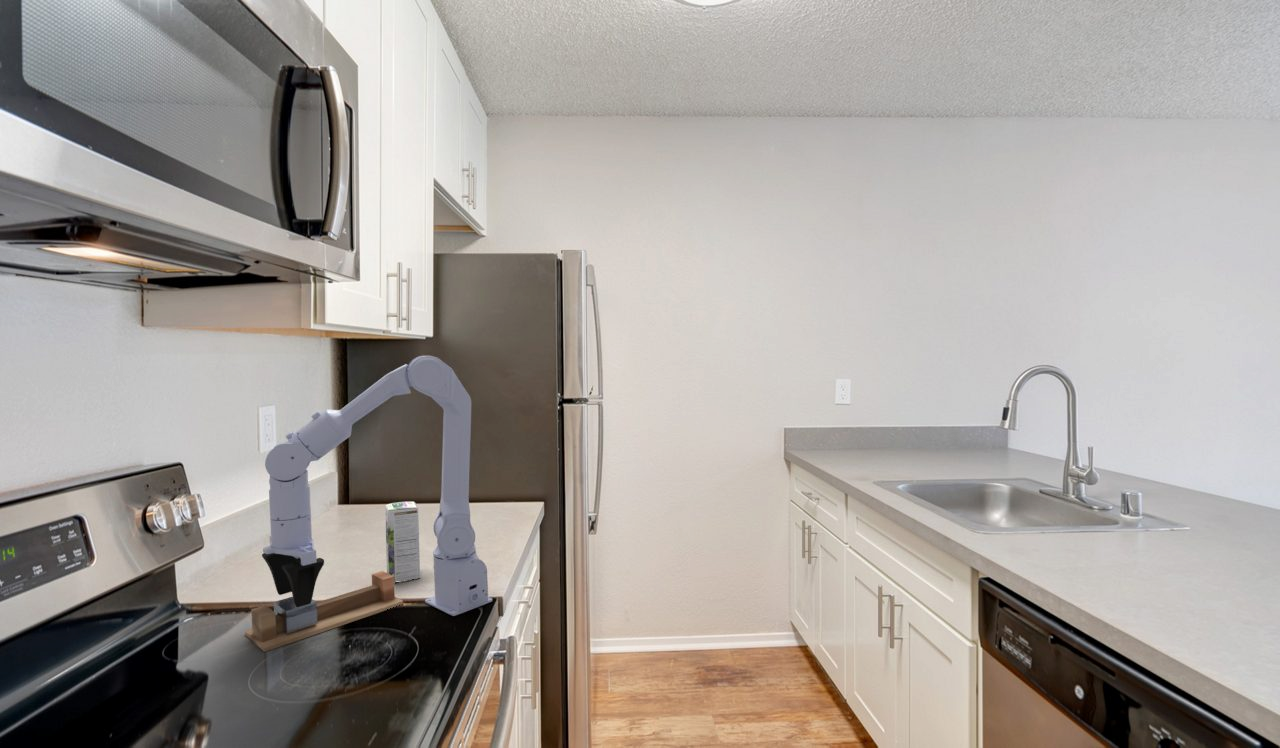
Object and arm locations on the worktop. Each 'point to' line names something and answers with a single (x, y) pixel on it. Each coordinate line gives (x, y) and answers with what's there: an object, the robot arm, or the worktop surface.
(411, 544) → the syrup box
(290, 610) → the slider
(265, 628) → the rail
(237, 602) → the worktop surface
